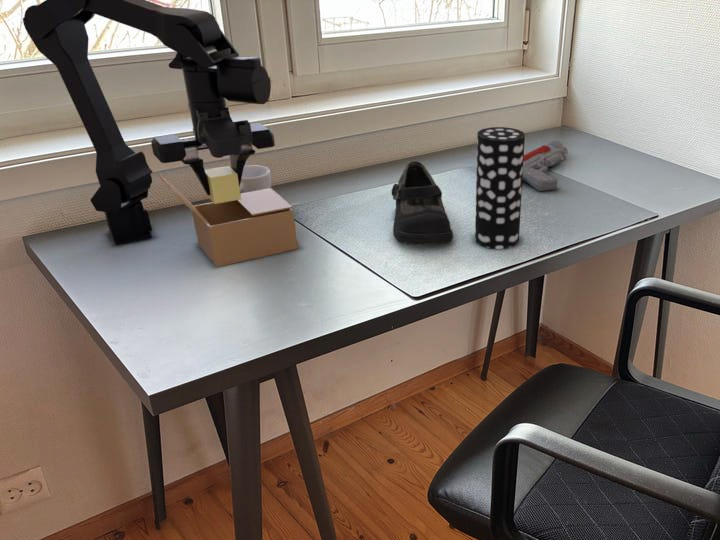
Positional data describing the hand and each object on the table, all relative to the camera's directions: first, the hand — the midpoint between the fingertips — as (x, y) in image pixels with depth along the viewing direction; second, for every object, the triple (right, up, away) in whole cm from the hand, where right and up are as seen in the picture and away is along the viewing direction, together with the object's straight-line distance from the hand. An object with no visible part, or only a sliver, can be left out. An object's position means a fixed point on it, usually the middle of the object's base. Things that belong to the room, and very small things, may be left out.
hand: (222, 192), depth 126 cm
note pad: (0, -1, +1) cm, 1 cm away
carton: (+2, -8, +7) cm, 11 cm away
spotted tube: (+48, -6, +13) cm, 50 cm away
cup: (-1, 0, +21) cm, 21 cm away
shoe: (+33, -4, +16) cm, 37 cm away
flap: (-5, -2, -3) cm, 7 cm away
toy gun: (+60, +15, +46) cm, 77 cm away
